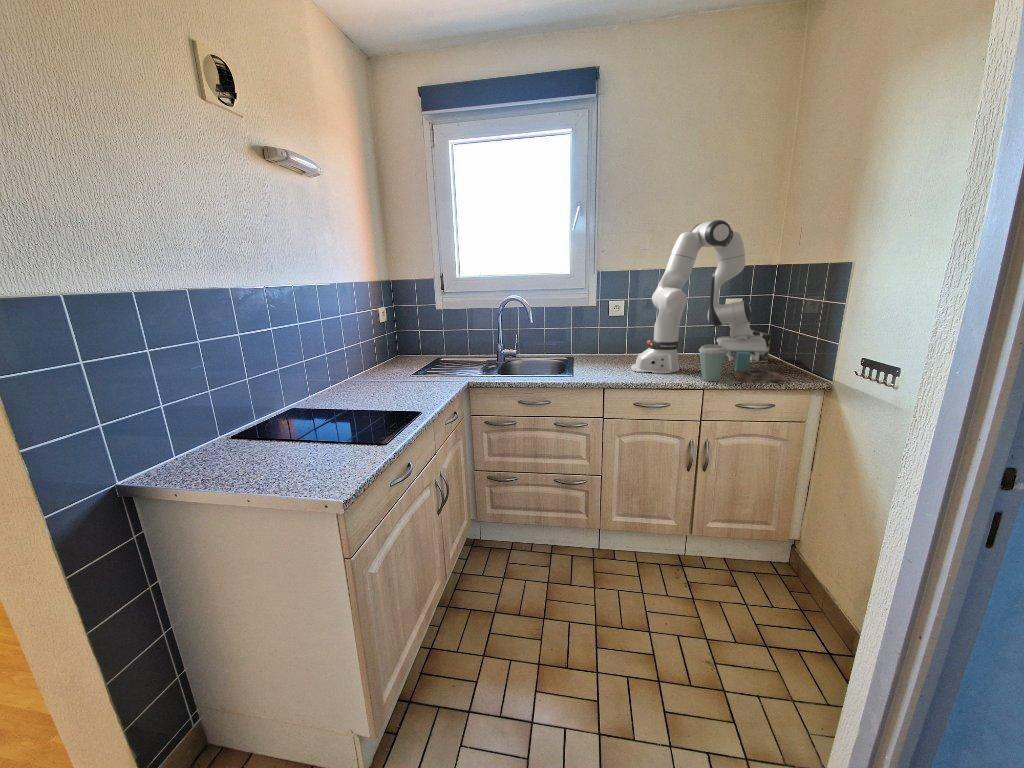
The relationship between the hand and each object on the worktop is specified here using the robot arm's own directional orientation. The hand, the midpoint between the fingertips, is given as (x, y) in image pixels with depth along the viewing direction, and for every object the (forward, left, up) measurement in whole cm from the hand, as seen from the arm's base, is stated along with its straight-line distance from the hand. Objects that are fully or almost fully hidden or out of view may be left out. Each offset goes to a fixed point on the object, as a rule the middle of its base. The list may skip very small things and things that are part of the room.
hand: (742, 360), depth 189 cm
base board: (+2, -13, -5) cm, 14 cm away
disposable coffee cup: (-19, -16, -5) cm, 25 cm away
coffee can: (+16, +23, -5) cm, 29 cm away
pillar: (0, 0, -5) cm, 5 cm away
